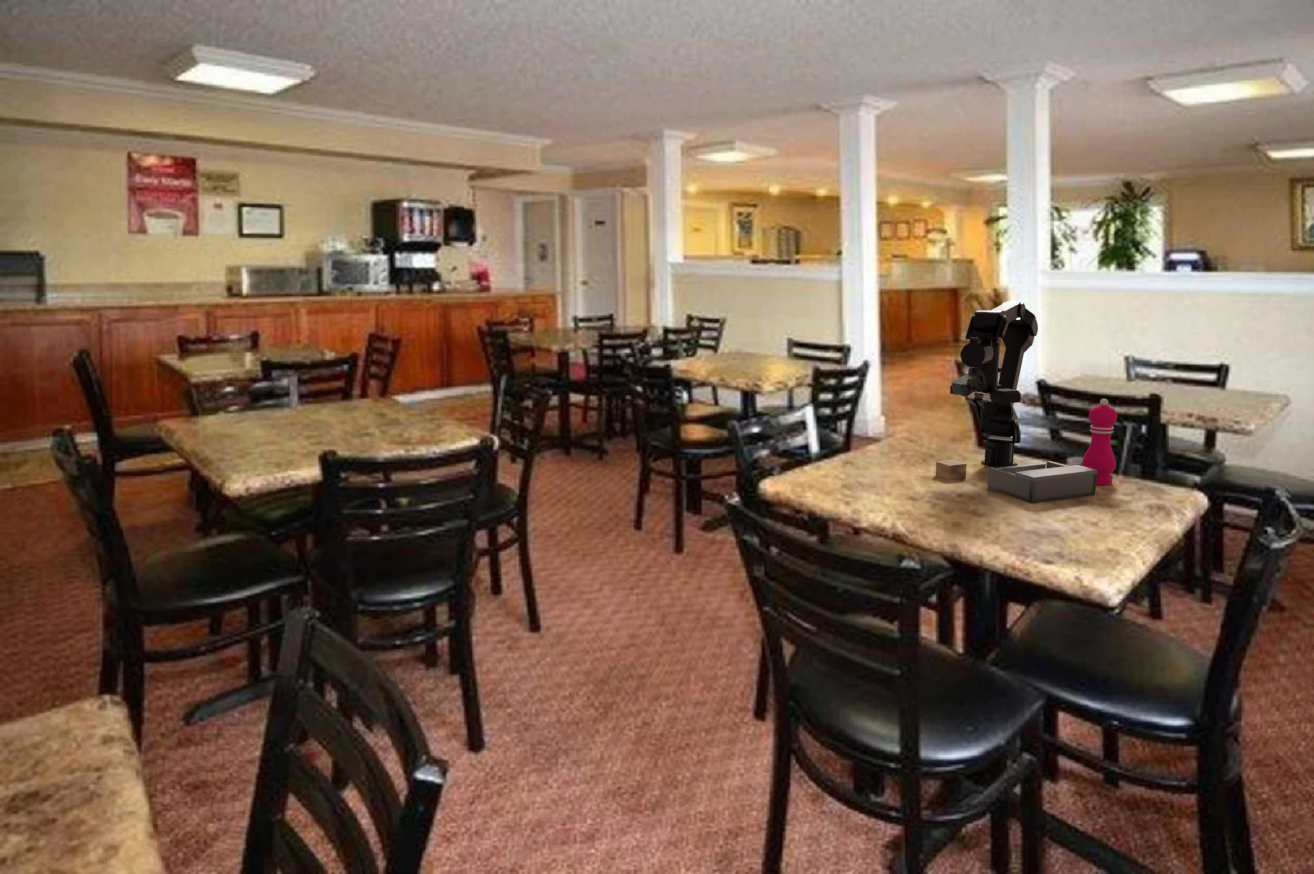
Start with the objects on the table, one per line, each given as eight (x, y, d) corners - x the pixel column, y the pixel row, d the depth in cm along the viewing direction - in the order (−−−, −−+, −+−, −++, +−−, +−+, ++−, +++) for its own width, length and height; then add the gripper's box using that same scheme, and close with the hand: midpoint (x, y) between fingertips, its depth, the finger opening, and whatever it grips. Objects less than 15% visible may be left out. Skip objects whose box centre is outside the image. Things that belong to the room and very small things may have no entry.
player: (1048, 481, 218) (1050, 457, 217) (1095, 495, 206) (1097, 469, 205) (987, 488, 212) (988, 464, 211) (1031, 503, 199) (1033, 477, 198)
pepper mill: (1087, 477, 222) (1094, 395, 219) (1118, 482, 217) (1126, 398, 214) (1075, 482, 217) (1082, 398, 214) (1107, 487, 212) (1115, 402, 209)
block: (952, 473, 227) (953, 459, 227) (965, 477, 223) (966, 463, 222) (935, 475, 225) (936, 461, 225) (948, 479, 221) (949, 465, 220)
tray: (1041, 476, 219) (1042, 463, 218) (1086, 489, 206) (1087, 475, 206) (988, 483, 213) (989, 468, 213) (1031, 496, 201) (1032, 481, 200)
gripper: (933, 361, 225) (930, 423, 228) (985, 369, 208) (981, 436, 211) (970, 359, 229) (966, 420, 232) (1024, 366, 212) (1020, 433, 215)
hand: (982, 427), depth 222 cm, fingers closed
